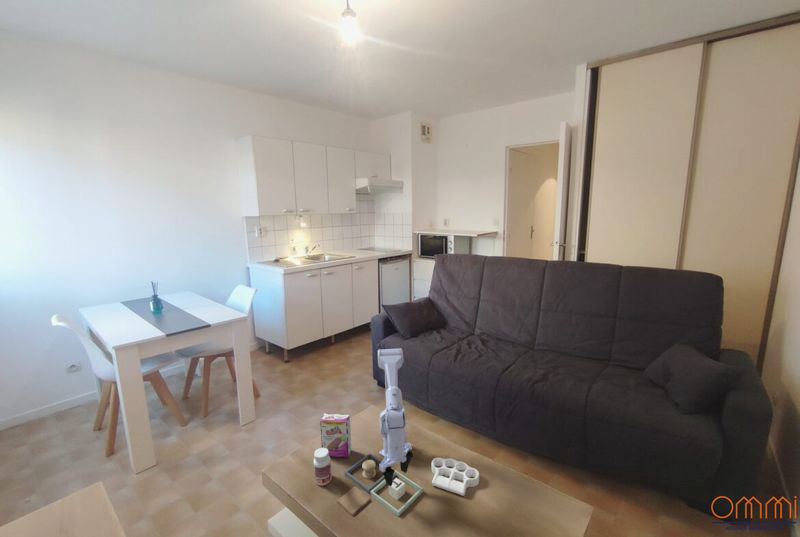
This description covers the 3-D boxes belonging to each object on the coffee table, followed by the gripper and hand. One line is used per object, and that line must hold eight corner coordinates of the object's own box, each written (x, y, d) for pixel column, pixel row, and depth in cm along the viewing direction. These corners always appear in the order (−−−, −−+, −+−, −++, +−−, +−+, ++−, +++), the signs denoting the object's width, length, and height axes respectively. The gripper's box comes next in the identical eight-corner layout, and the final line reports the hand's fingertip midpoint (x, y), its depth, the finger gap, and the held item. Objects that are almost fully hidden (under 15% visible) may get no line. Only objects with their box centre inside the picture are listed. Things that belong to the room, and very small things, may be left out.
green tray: (395, 473, 131) (395, 470, 131) (422, 491, 123) (422, 488, 122) (370, 495, 122) (370, 491, 121) (398, 516, 113) (398, 512, 113)
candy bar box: (321, 457, 140) (319, 420, 137) (325, 448, 145) (323, 412, 142) (349, 458, 139) (347, 421, 136) (351, 449, 144) (350, 413, 141)
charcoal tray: (369, 456, 140) (369, 453, 140) (393, 472, 132) (393, 468, 132) (344, 475, 131) (344, 471, 131) (368, 493, 122) (368, 489, 122)
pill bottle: (334, 481, 128) (332, 453, 126) (318, 488, 125) (316, 460, 123) (327, 470, 133) (326, 444, 131) (312, 477, 130) (310, 450, 128)
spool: (369, 467, 135) (369, 457, 134) (378, 473, 132) (378, 464, 131) (359, 474, 131) (359, 465, 130) (369, 481, 128) (368, 471, 127)
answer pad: (354, 488, 125) (354, 486, 125) (370, 500, 120) (370, 498, 119) (337, 502, 119) (337, 500, 119) (352, 515, 114) (352, 513, 114)
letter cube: (396, 487, 125) (396, 477, 124) (404, 493, 122) (404, 483, 122) (388, 494, 122) (388, 484, 121) (397, 500, 119) (397, 490, 119)
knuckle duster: (423, 485, 126) (436, 458, 139) (472, 502, 119) (482, 472, 132) (423, 476, 126) (436, 451, 139) (473, 493, 118) (482, 464, 131)
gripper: (389, 459, 111) (390, 496, 113) (418, 436, 121) (418, 471, 124) (374, 449, 115) (375, 485, 118) (403, 428, 126) (403, 462, 128)
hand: (396, 477), depth 121 cm, fingers open, 7 cm apart
